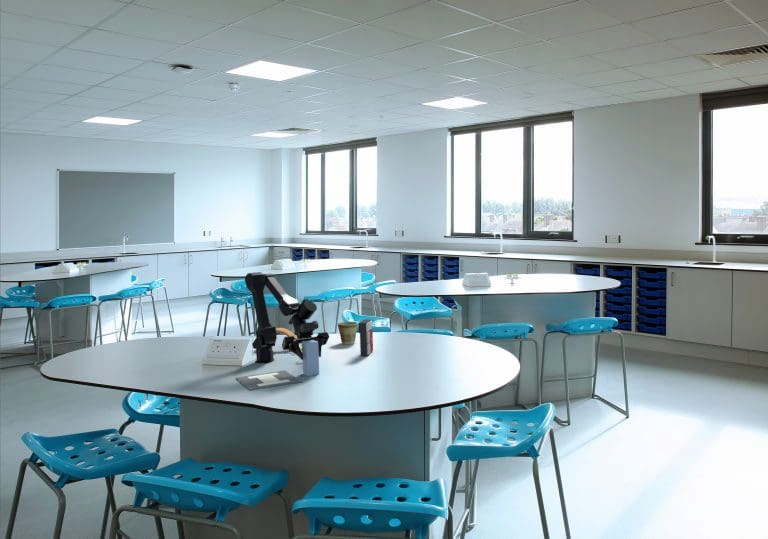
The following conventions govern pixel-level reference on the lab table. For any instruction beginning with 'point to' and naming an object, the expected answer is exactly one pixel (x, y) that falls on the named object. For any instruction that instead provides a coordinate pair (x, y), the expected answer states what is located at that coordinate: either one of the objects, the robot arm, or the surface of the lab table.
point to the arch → (285, 332)
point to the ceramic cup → (347, 332)
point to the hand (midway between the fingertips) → (311, 358)
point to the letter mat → (268, 380)
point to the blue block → (310, 357)
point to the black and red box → (366, 337)
